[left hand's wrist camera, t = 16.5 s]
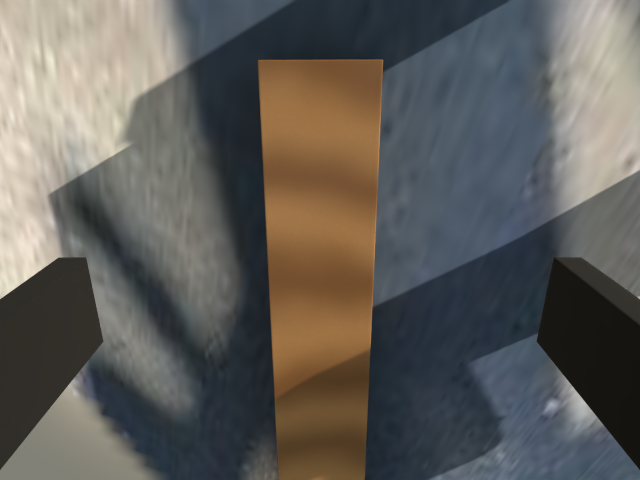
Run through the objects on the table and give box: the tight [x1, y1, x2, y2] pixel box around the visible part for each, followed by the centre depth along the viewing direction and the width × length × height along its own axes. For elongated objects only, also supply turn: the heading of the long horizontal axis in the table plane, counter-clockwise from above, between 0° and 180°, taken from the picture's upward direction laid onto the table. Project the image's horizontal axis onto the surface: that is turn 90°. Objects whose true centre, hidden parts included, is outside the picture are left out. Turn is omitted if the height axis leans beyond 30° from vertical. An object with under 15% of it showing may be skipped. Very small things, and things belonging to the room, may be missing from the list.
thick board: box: [258, 59, 383, 480], centre depth 45 cm, size 56×9×7 cm, turn 0°
